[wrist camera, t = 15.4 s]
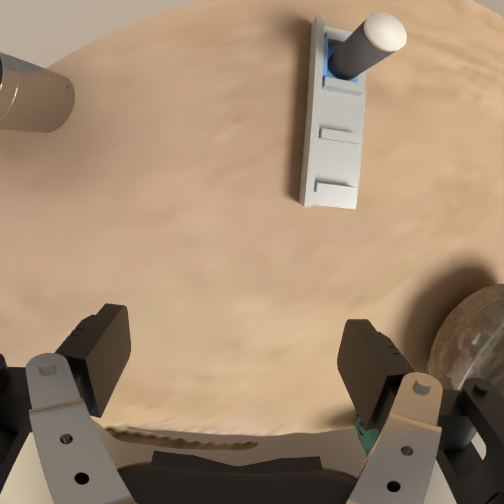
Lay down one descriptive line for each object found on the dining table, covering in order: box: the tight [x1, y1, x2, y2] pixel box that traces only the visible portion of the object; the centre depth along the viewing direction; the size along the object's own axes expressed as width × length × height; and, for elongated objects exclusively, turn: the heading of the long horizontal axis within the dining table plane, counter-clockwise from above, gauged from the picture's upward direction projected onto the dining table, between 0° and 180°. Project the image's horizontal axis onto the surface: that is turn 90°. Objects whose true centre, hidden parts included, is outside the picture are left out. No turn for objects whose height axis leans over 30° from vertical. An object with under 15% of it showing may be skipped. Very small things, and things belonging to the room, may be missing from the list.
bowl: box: [426, 284, 504, 397], centre depth 43 cm, size 24×24×15 cm
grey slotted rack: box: [298, 16, 366, 209], centre depth 38 cm, size 8×26×4 cm, turn 176°
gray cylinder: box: [328, 12, 407, 81], centre depth 30 cm, size 4×4×14 cm
